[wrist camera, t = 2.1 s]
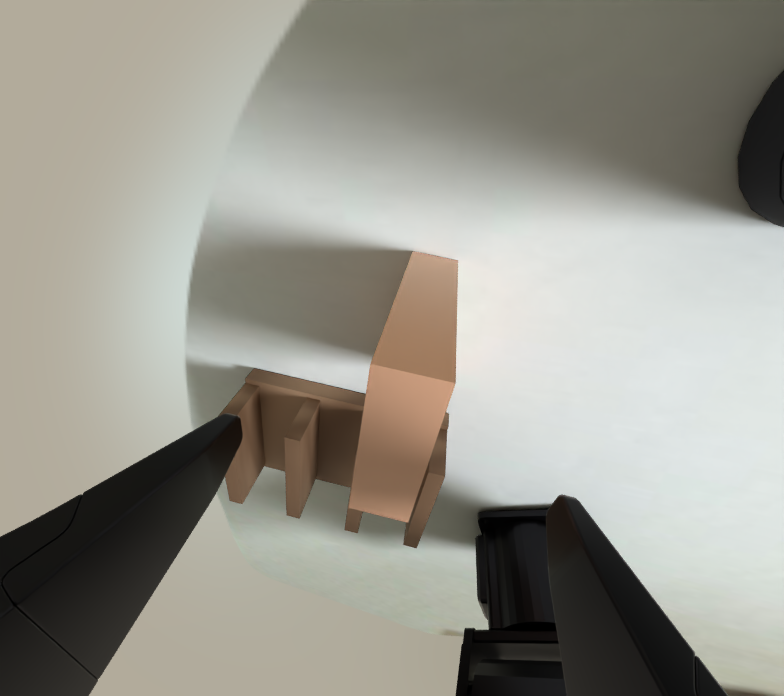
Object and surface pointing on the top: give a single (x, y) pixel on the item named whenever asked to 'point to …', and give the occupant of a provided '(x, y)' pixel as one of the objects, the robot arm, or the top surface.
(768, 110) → the wine bottle
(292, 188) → the top surface
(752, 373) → the top surface
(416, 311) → the block
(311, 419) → the rack
